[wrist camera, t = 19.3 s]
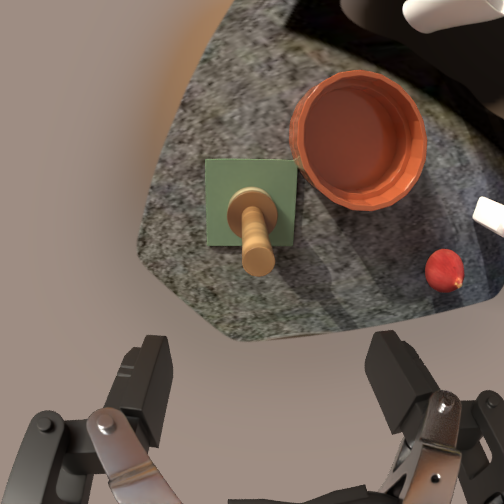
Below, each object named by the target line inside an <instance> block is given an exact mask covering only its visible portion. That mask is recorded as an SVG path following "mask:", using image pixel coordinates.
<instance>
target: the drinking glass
mask: <svg viewBox="0 0 504 504" xmlns="http://www.w3.org/2000/svg"><path fill="white" fill-rule="evenodd" d="M403 14H404V17H405V19H406V20H407V22H408V23H409V24H410V25H411V26H412V27H413V28H414V29H416V30H417V31H419V32H421V33H426V34H428V33H432V32H435V31H438V30H442V29H447V28H451V27H457V26H463V25H468V24H475V23H481V22H486V21H490V20H494V19H498V18H501V17H504V0H407V1H406V2H405V3H404V5H403Z"/></svg>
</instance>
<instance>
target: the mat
mask: <svg viewBox="0 0 504 504" xmlns="http://www.w3.org/2000/svg"><path fill="white" fill-rule="evenodd" d="M297 169H298V167H297V166H296V164H295V162H294V160H273V159H205V176H206V222H207V246H242V238H240V237H238V236H237V235H235V234H234V233H233V232H232V230H231V229H230V227H229V225H228V222H227V211H228V205H229V202H230V199H231V198H232V196H233V195H234V194H235V193H236V192H237V191H239V190H240V189H242V188H245V187H258V188H261V189H263V190H265V191H266V192H267V193H268V194H269V195H270V196H271V198H272V199H273V201H274V204H275V206H276V208H277V212H278V220H277V224H276V226H275V228H274V229H273V231H272V232H271V233H270V234H269V238H270V242H271V246H293V236H294V222H295V206H296V189H297Z"/></svg>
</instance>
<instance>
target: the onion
mask: <svg viewBox="0 0 504 504" xmlns="http://www.w3.org/2000/svg"><path fill="white" fill-rule="evenodd" d="M425 277H426V280H427V282H428V284H429V286H430V287H432V288H433V289H435V290H436V291H438V292H443V293H449V292H452V291H454V290H456V289H458V288H460V287H461V286H462V282H463V279H464V266H463V263H462V260H461V258H460V257H459V256H458V255H457V254H456V253H455V252H453V251H452V250H449V249H440V250H437V251H435V252H434V253H433V254H432V255H431V256H430V257H429V258H428V260H427V263H426V266H425Z"/></svg>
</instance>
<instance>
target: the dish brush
mask: <svg viewBox="0 0 504 504" xmlns="http://www.w3.org/2000/svg"><path fill="white" fill-rule="evenodd" d="M277 220H278V212H277V208H276V206H275V204H274V201H273V199H272V198H271V196H270V195H269V194H268V193H267V192H266V191H265V190H263V189H261V188H258V187H245V188H242V189H240V190H239V191H237V192H236V193H235V194H234V195H233V196H232V198H231V199H230V202H229V205H228V211H227V222H228V225H229V227H230V229H231V230H232V232H233V233H234V234H235V235H237V236H238V237H240V238H242V264H243V267H244V269H245V271H246V272H247V273H249V274H250V275H252V276H257V277H260V276H264V275H267V274H268V273H270V272H271V271H272V269H273V268H274V265H275V257H274V253H273V249H272V246H271V242H270V238H269V234H270V233H271V232H272V231H273V229H274V228H275V226H276V224H277Z"/></svg>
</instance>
